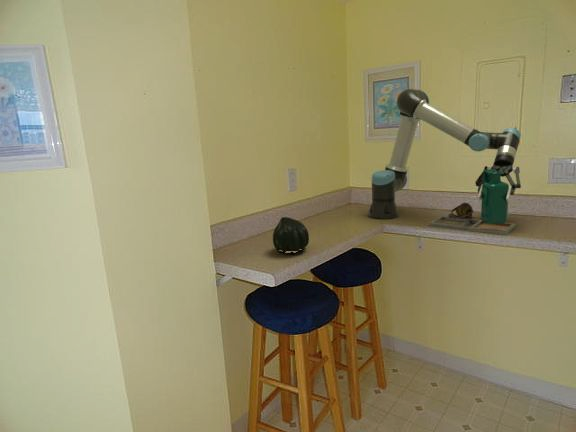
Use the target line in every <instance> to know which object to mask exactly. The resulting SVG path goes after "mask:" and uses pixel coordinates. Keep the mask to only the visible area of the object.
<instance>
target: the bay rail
mask: <svg viewBox="0 0 576 432" xmlns="http://www.w3.org/2000/svg"><path fill="white" fill-rule="evenodd" d="M443 220H444V221H452V222H453V221H454V222H461V224H460V225H459V224H458V225H456V224H447V223H439V222H441V221H443ZM470 224H473V225H471V226H468V225H470ZM435 226H436V228H444V229H454V230H460V231H470V232H478V233H479V232H480V233H487V234H493V235H494V234H495V235H502V236H503V235H504V236H507V235H508V234H510V232H512V230H514V229H515V228H516V223H513V222H512V223H511V222H506V223H498V224H489V223H486V222H484V221H482V220H481V219H474V218H466V217H464V218H455V217H449V216H444V215H443V216H439V217H437V218H435V219H434V220H432V221H430V222H428V227H435Z"/></svg>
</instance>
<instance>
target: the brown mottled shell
mask: <svg viewBox="0 0 576 432" xmlns="http://www.w3.org/2000/svg"><path fill="white" fill-rule="evenodd" d="M454 211H455V212H456V214H457V215H456V214H455V213H453V212H454ZM473 213H474V209H473V206H472V205H471V204H470V203H469V202H462V203H461V204H459V205H458V206H456V207H454V208H452V209H451V211H450V213H449V214H448V216H447V217H455V218H467V217H469V216H470V217H473Z"/></svg>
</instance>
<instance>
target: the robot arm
mask: <svg viewBox="0 0 576 432" xmlns="http://www.w3.org/2000/svg"><path fill="white" fill-rule="evenodd" d="M396 106H397V107H396V108H398V109H397V110H399V114H398V115H399V116H400V123H399V126H398V130H397V134H396V138H395V142H394V146H393V149H392V152H391V158H390V161H389V163H388V164H386V166H385V167H384V168H385V169H384V170H383V169H382V170H377V171H375V172H373V173H372V175H371V204H370V207H369V210H368V217H369V216H370V218H371V217H374V218H373V219H376V218H380V220H389V219H395V218H397V217H399V210H398V207H397V204H396V193H397V192H399V191H401V190H403V189H404V188H405V186H406V185H407V182H408V177H407V174H408V168H407V167H406V166H407V163H408V159H409V155H410V154H411V153H410V152H411V148H412V144H413V141H414V137H415V135H416V131H417V128H418V123H419V122H421V121H423V122H425V123H426V124H428V125H430V126H432V127H434V128H435V129H437V130H439V131H441V132H443V133H445V135H448V136H450V137H452V138H453V139H456V140H457V141H459V142H461V143H462V144H464V145H466V146H468V147H469V149H471V151H474V152H478V153H479V152H484V151H485V150H497V151H496V154H495V158H494V161H493V164H492V165H491V166H490V167H488V166H486V165H484V168H483V170H492V169H495V170H496V171H502V172H503V173H502V174H501V177H505V178H506V179H507V182H508V184H510V185H509V190H508V193H507V197H506V200H507V202H508V203H510V201H511V196H514V194H515V191H516V189H521V188H522V185H521V180H520V172H521V170H520V167H519V166H516V167H513V165H514V163H515V159H516V155H517V152H518V148H519V144H520V141H521V132H520V130H519V129H517V128H515V127H509V128H505V129H504V130H503V131H502V132H489V131H486V132H484V131H480V130H477V129H475V128H474V127H472V126H470V125H468V124H467V123H465V122H462V121H461V120H459V119H457V118H455V117H454V116H452V115H450V114H448V113H446V112H444V111H442V110H440V108H437V107H435V106H433V105H431V104H430V98H429V95H427V93H426V92H425V91H423V90H420V89H413V88H408V89H404V90H402V91H401V92H400V93H399V94H398V96H397V99H396ZM512 172H513V173H514V174H515V181H516V183H515V181H514V180H513V178H512V177H511V175H510V173H512ZM474 183H475V186H476V187H478V188H477V193H478V194H477V198H478V200H479V201H482V185H483V183H484V179H483V171H482V172H481V174H480V175H479V176H478V178H477V179H476V180H475V182H474Z"/></svg>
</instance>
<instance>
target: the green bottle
mask: <svg viewBox="0 0 576 432" xmlns="http://www.w3.org/2000/svg"><path fill="white" fill-rule="evenodd" d="M482 172H483V179H484V183H483V185H482V198H481V204H480V205H481V206H480V207H481V208H480V211H481V212H480V220H482V221H484V222H486V223H489V224H498V223H508V213H509V210H508V209H509V202H507V200H506V197H507V193H508V190H509V186H510V185H509V183H507V182H504V181H502V180H501V177H502V176H501V174H502V173H503V172H502V171H496V170H495V169H492V170H484V169H483V170H482Z"/></svg>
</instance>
